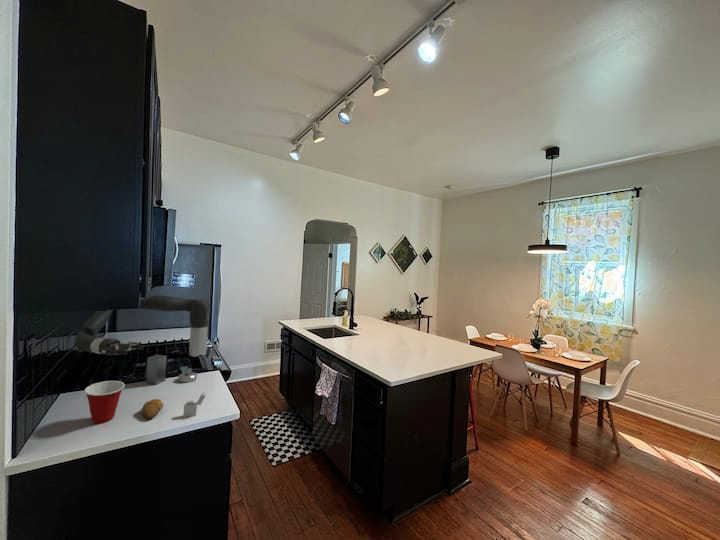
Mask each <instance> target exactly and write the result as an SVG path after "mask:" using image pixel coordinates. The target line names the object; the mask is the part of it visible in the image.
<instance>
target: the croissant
mask: <svg viewBox="0 0 720 540" xmlns="http://www.w3.org/2000/svg"><path fill="white" fill-rule="evenodd" d="M163 407H164V404H163V402H162V400H161V399H160V398H156V399H155V398H154V399H151V400H149V401H146V402H144V404H143V405H142V407H141V409H142V410H141V411H142V412H143V413H142V414H143V415H144V417H145V418H146V420H152V419H154V418H155V417H156V416H157V415H158V413H159V412H160V411H161V410H162V409H163Z"/></svg>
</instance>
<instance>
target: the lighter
mask: <svg viewBox="0 0 720 540" xmlns="http://www.w3.org/2000/svg"><path fill="white" fill-rule="evenodd" d="M206 396H207V393H206V392H202V393H201V395H200V397H199V398H198V400H197V402H195V401H194V400H189V401H187V402H186V403H184V405H183V417H182V418H188V417H189V418H190V417H195V416H196V415H197V411H198V410H197V408H198V406H201V405H202V403H203V401H204V399H205V398H206Z"/></svg>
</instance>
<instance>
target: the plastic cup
mask: <svg viewBox="0 0 720 540" xmlns="http://www.w3.org/2000/svg"><path fill="white" fill-rule="evenodd" d="M125 387H126V385H125V383H124V382H122V381H121V380H120V381H119V380H107V381H100V382H96V383H92V384H91V385H89V386H86V388H85V389H84V393H85V394H86V396H87V400H88V408H89V413H90V417H91V421H92V423H93V424H98V425H99V424H104V423H107V422H111V420H113V419H114V417H115V416H116V415H115V413H116V412H117V409H118V405H119V401H120V400H119V399H120V396H121V394H122V391H123V389H124V388H125Z"/></svg>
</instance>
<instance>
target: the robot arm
mask: <svg viewBox="0 0 720 540" xmlns="http://www.w3.org/2000/svg"><path fill="white" fill-rule="evenodd" d="M140 299H141V300H140V307H139V308H138V309H137V310H149V311H159V312H189V323H190V333H189V349H188V350H189V351H188V356H189V357H192V358H193V357H194V358H196V357H197V356H198V357H200V356H199V355H202V356H201V357H204V356H205V355H207V347H208V346H207V345H208V343H207V342H208V327H209V322H208V312H209V311H210V309H211V304H210V302H208V300H205V299H189V298H181V297H177V296H170V295H162V294H155V295H152V296H148V297H146V299H144V298H140ZM113 311H114V309H113V310H107V311H97V310H96V311H95V313H94V314H93V315H92V316H91V317H90V318H89V319H88V320H87V321H86V322H85V323H84V324H83V325H81V327H82V331H78V332H79V333H78V335H77V338H76V342H75V346H77V348H78V351H79V353H82V352H84V351H85V352H90V353H95V354H98V355H99V354H100V355H104V356H105V355H106V356H110V357H112V356H114V355H122V356H126V355H127V354H128V352H130V351H131V350H137V351H143V350H144V345H143V344H140V342H134V341H133V342H132V341H128V342H127V343H126V342H121V341H120V340H119V339H117V338H109V337H98V336H96V335H97V334H98V333H99V331H100V330H101V329H102V328H103V327H104V326H106V324H107V322H108V321H109V319H110V316H111V315H112V312H113Z"/></svg>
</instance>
